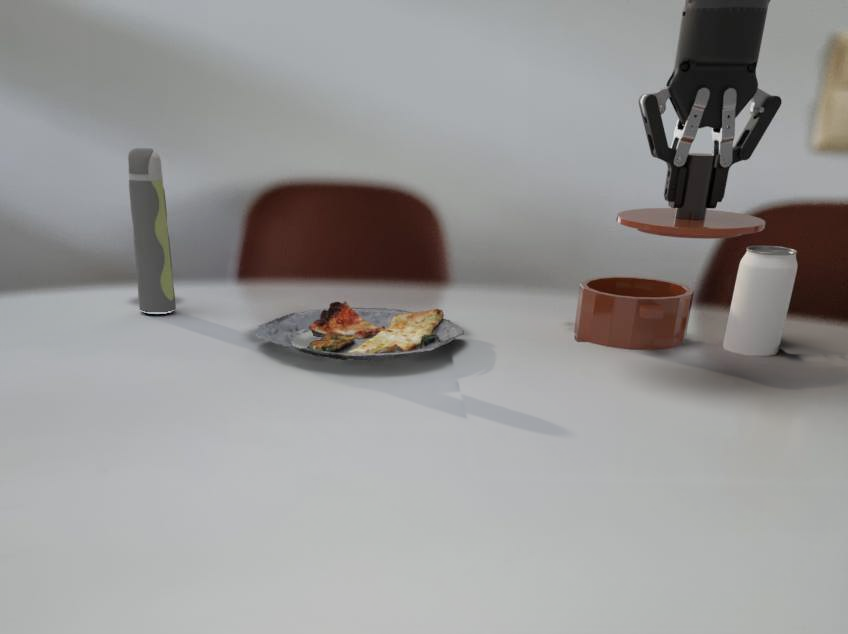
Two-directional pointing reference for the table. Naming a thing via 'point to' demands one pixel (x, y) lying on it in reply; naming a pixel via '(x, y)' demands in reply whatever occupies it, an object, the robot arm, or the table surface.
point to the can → (760, 300)
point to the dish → (633, 312)
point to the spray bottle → (150, 231)
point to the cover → (692, 210)
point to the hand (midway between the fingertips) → (691, 206)
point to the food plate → (363, 332)
